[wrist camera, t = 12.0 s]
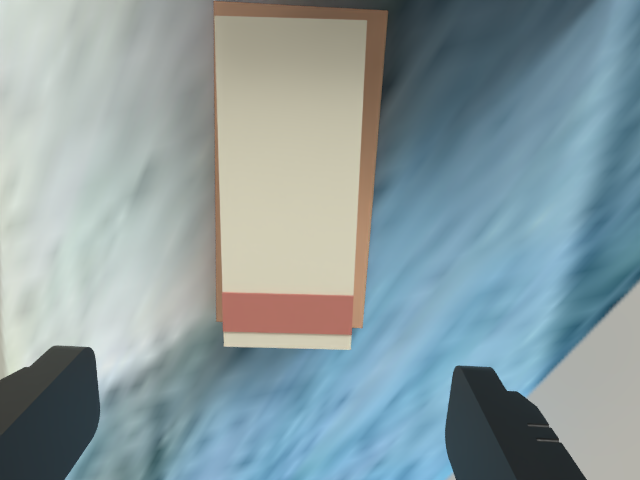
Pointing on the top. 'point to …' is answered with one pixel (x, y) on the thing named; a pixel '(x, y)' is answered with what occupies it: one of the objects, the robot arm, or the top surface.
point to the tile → (368, 134)
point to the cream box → (289, 177)
